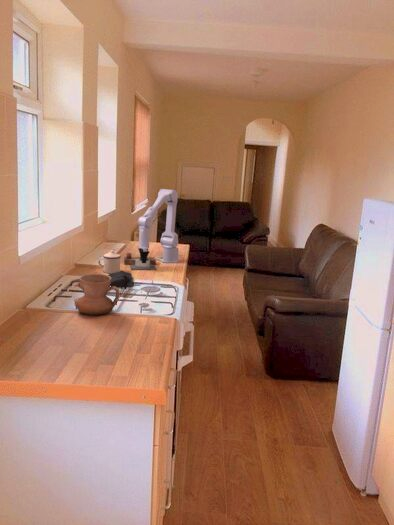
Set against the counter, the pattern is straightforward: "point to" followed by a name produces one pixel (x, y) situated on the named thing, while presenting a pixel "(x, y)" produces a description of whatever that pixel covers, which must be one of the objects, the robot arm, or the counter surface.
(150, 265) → the rubber mat
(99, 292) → the ceramic jug
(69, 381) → the counter surface
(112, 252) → the teacup with lid
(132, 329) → the counter surface
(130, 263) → the body
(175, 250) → the robot arm
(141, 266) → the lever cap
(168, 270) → the counter surface
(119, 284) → the dark slate chunk
